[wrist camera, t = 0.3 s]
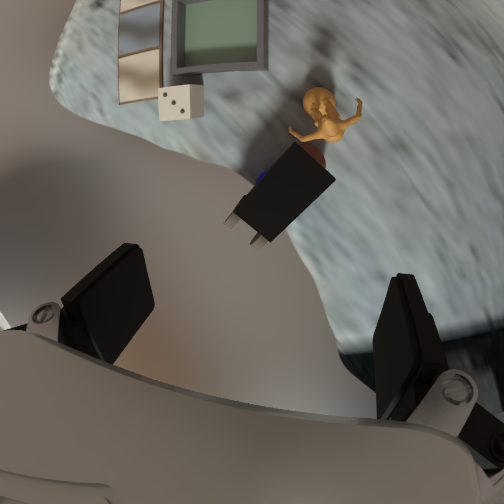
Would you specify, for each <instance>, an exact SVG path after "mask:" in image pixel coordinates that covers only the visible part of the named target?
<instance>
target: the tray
mask: <svg viewBox="0 0 504 504" xmlns="http://www.w3.org/2000/svg"><path fill="white" fill-rule="evenodd" d="M254 70H268V0H172V29H171V75H179V76H184V75H192V74H202V73H213V72H228V71H254Z"/></svg>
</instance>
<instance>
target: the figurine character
mask: <svg viewBox="0 0 504 504" xmlns="http://www.w3.org/2000/svg"><path fill="white" fill-rule="evenodd" d="M325 168H326V162H325V158H324V156H323V154H322V153H321V151H320V150H319V149H317V148H316V147H314V146H312V145H310V144H299V145H298V144H297V143H296V142H294V143H293V144H292V145H291V146H290V147H289V148H288V149H287V150H286V152H285V153H284V154H283V155H282V156H281V157H280V158H279V159H278V160H277V161H276V163H275V164H274V165H273V166H272V167H271V168H270V169H269V170H268V171H265V172H263V173H261V174H260V176H259V178H258V180H257V182H256V184H255V186H254V187H253V189H251V191H250V192H249V193H248V194H247V195H244V196H243V198H242V199H241V200H240V202H239V203H238V205H237V206H236V207H235V209H234V210H233V212H232V213H231V214H230V216H229V217H228V218H227V219H226V221H225V222H224V224H225V225H226V226H227V227H228V228H230V229H232V228H233V227H234V226H235V224H236V223H237V222H238V221H239V220H240V219H242V220H243V221H245V222H246V223H247V224H248V225H250V226H251V227H252V228H253V229H254V230H256V231H257V232H258V233H257V234H256V235H255V237H254V238H253V239H252V241H251V243H250V245H251V246H252V247H254V248H255V249H256V250H259V249H261V248H262V247H263V246H264V245H265V244H266V243H267V242H268V241H269V242H271V241H272V240H274V239H275V238H276V237H277V236H278V235H279V234H280V233H281V232H282V231H283V230H284V229H285V228H286V227H287V226H288V225H289V224H290V223H291V222H292V221H294V220H295V219H296V218H297V217H298V216H299V215H300V214H301V213H302V212H303V211H304V210H305V209H306V208H307V207H308V206H309V205H310V204H311V203H312V202H313V201H314V200H316V199H317V198H318V197H319V196H320V195H321V194H322V193H323V192H324V191H325V190H326V189H327V188H328V187H329V186H330V185H331V184H332V183H333V182H334V181H335V180H336V179H335V178H334V177H333V176H332V175H331V174H330V173H329V172H328V171H327V170H326V169H325Z"/></svg>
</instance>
